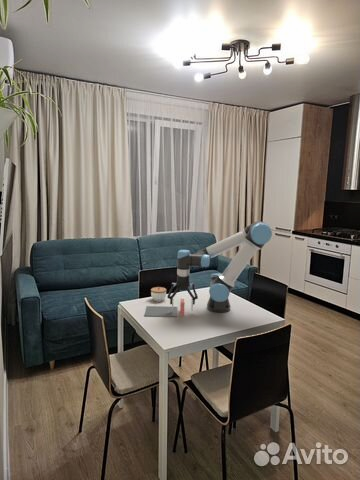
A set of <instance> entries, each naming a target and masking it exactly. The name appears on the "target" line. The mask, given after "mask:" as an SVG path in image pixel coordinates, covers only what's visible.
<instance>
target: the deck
mask: <svg viewBox="0 0 360 480" xmlns="http://www.w3.org/2000/svg"><path fill="white" fill-rule="evenodd" d="M179 304H180V306H179V307H180V310H179V311H180V317H185V299H184V298H180V303H179Z"/></svg>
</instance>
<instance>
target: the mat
mask: <svg viewBox="0 0 360 480" xmlns="http://www.w3.org/2000/svg"><path fill="white" fill-rule="evenodd" d="M143 316H144V317H149V318H150V317H151V318H152V317H155V318H157V317H158V318H159V317H163V318H166V317H167V318H169V317H170V318H178V306H173V310H172V306H165V305H163V306H161V305H160V306H156V305H155V306H154V305H153V306H151V305H147V306H146V308H145V311H144V315H143Z"/></svg>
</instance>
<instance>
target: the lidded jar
mask: <svg viewBox="0 0 360 480" xmlns="http://www.w3.org/2000/svg"><path fill="white" fill-rule="evenodd" d="M150 295H151V296H150V297H151V298H152V299H153V301H154V302H163V300H165V298H166V295H167V288H165V287H162V286H156V287H152V288H151V289H150Z"/></svg>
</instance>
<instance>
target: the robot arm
mask: <svg viewBox="0 0 360 480" xmlns="http://www.w3.org/2000/svg"><path fill="white" fill-rule="evenodd" d="M272 233H273V231H272V228H271V227H270V226H269V225H268V224H267V223H266V222H264V221H262V220H259V221H255V222H253V223H251V224H249V225H247V226H246V227H243V228H242V230H240V231H238V232H237V233H234V234H232V235H230V236H228V237H226V238H224V239H222V240H219V241H218V242H216V243H213V244H211V245H209V246H207V247H205V248H203V249H199V250H198V251H196V252H195V253H191V250H188V249H179V250H178V251H177V258H176V259H177V262H176V263H177V267H176V274H177V275H176V282H172V283H171V288H170V289H169V292H168V294H167V299H169V301H170V302H169V303H170V305H171V307H172V310H173V307H174V297H175V296H176V295H177V293H178V292H179V291H186V292H187V293H188V294H189V296H190V297H191V305H190V306H191V308H190V309H191V311H193V309H194V307H193V306H195V303H196V301H195V300H198V298H199V297H198V294H197V292H196V288H195V283H194V282H192V283H190V267H197V268H209V266H210V261H211V259H212V258H215V257H216V256H219V255H221V254H223V253H225V252H228V251H231V250H232V249H234V248H236V247H239V246H241V247H240V248H239V249H238V250H237V252H236V254H235V255H234V257H233V258H232V260H231V261H230V262H229V264H228V265H227V267H226V268H225V269H224V270H223V272H222V273H219V272H218V273H211V275H210V286H209V290H208V293H209V298H208V301H207V305H206V309H207V310H209V311H210V312H214V313H227V312H229V311H231V304H230V300H229V296H230V293H231V292H232V290H233V289H234V287H235V282H236V281H237V279H238V278H239V276H240V274H241V273H242V272H243V270H244V269H245V268H246V267H247V265H248V263H249V262H250V260H251V259H253V257H254V255H256V253H257V252H258V250H262V249H263V247H264V246H265V245H266V244H267V243H268V242H269V241H270V240H271V239H272ZM174 287H176V289H175V290H174ZM189 287H190V288H192V292H193V293H192V292H191V290H190V288H189ZM173 290H174V292H173Z"/></svg>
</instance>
